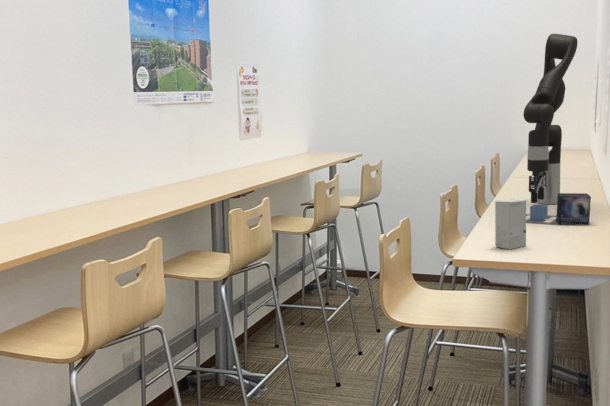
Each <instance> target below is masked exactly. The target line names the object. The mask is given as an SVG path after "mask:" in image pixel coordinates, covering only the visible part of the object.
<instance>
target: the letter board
mask: <svg viewBox="0 0 610 406" xmlns="http://www.w3.org/2000/svg"><path fill="white" fill-rule="evenodd" d="M556 218H557V215H548V218H547V219H545V220H530V213H529V214H528V213H526V224H536V225H551V226H561V225H562V224H559V223H558V222H557V221H556Z"/></svg>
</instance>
